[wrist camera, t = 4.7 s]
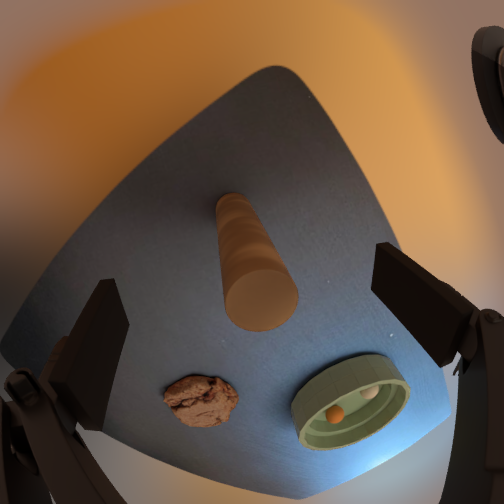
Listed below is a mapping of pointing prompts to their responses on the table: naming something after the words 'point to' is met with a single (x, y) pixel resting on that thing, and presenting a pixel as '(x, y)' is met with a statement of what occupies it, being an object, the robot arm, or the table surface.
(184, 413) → the cookie
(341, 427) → the bowl
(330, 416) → the orange ball
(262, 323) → the stick
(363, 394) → the cream ball
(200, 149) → the table surface
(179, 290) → the table surface
